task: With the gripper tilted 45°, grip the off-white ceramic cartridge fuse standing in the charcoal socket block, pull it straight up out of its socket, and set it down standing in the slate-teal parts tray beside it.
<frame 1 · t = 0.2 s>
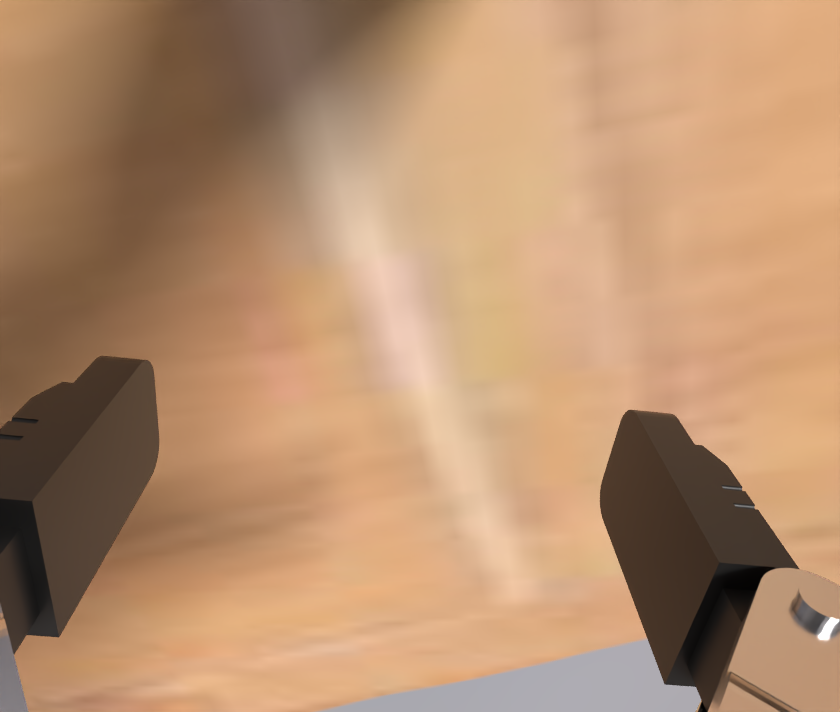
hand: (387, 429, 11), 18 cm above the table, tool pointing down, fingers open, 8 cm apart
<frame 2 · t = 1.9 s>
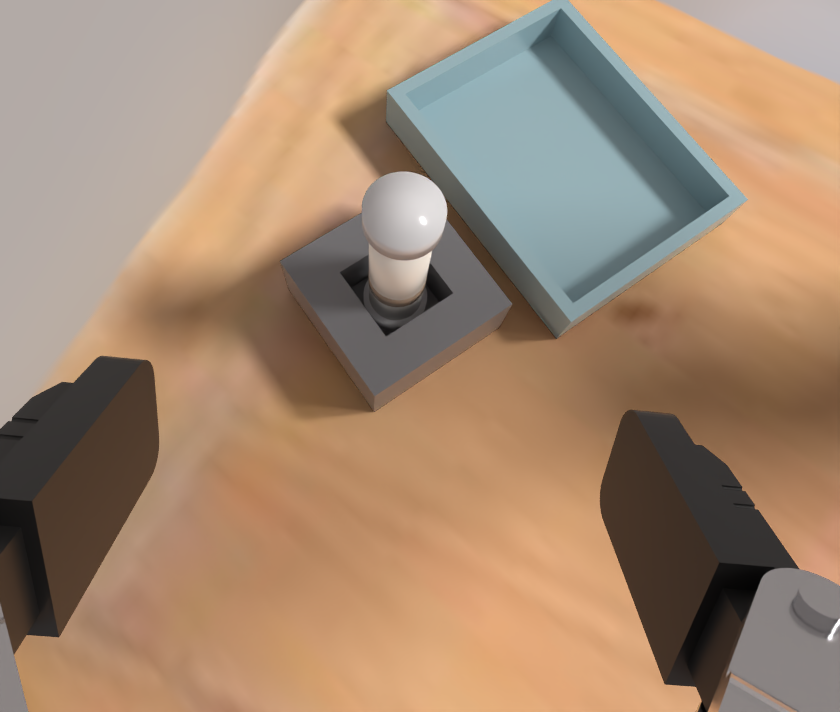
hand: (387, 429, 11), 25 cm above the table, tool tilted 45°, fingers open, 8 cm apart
socket block: (394, 308, 39), on the table
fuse: (394, 302, 38), point 1 cm above the table, touching socket block
parts tray: (553, 172, 42), on the table
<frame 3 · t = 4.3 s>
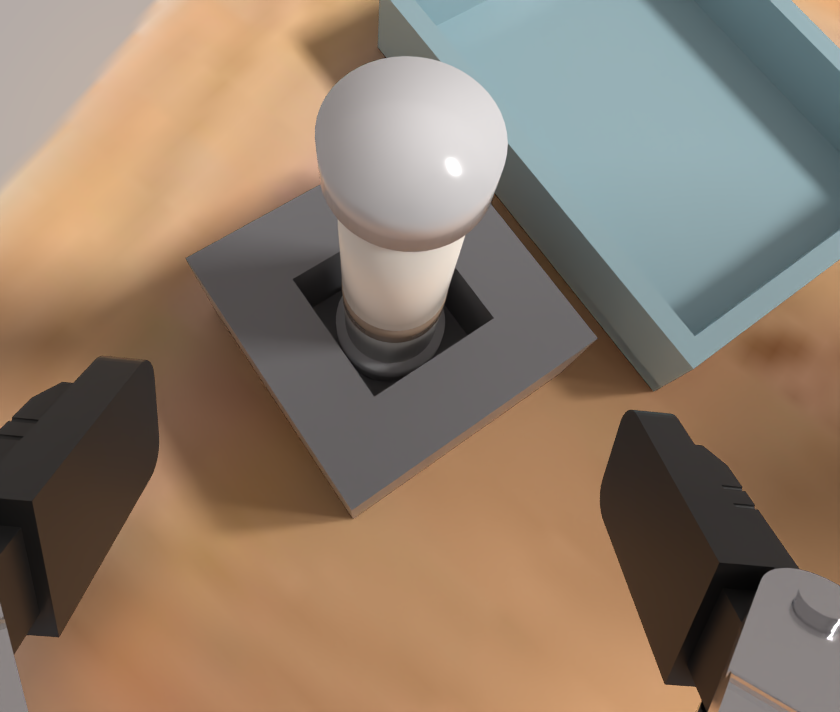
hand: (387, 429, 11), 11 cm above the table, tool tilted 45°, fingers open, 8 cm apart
socket block: (388, 340, 24), on the table
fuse: (389, 331, 23), point 1 cm above the table, touching socket block
parts tray: (636, 128, 27), on the table
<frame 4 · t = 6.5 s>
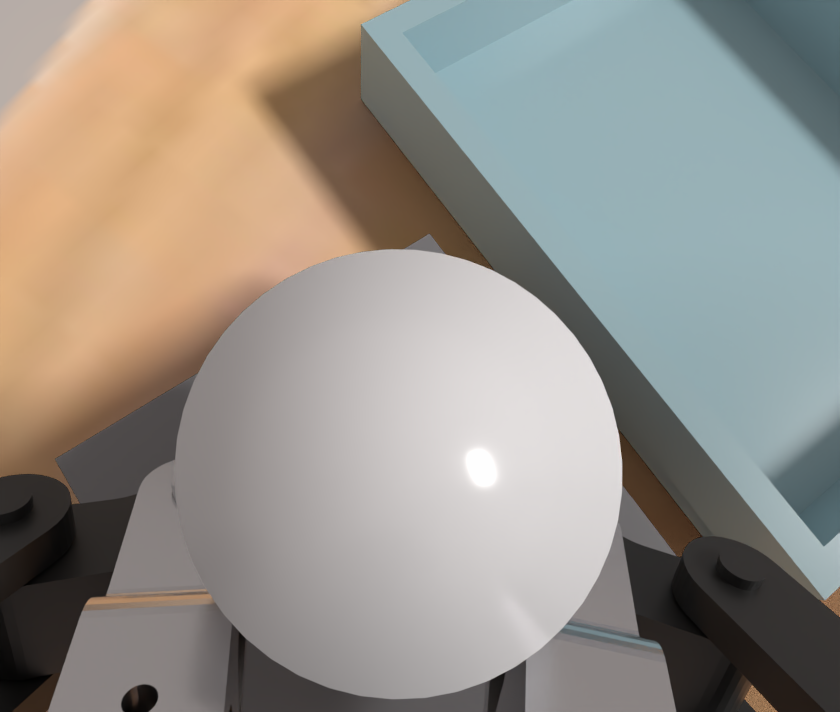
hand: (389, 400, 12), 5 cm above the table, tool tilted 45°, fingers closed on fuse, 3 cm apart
socket block: (373, 526, 17), on the table
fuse: (374, 524, 16), point 1 cm above the table, touching gripper, socket block
parts tray: (707, 207, 20), on the table
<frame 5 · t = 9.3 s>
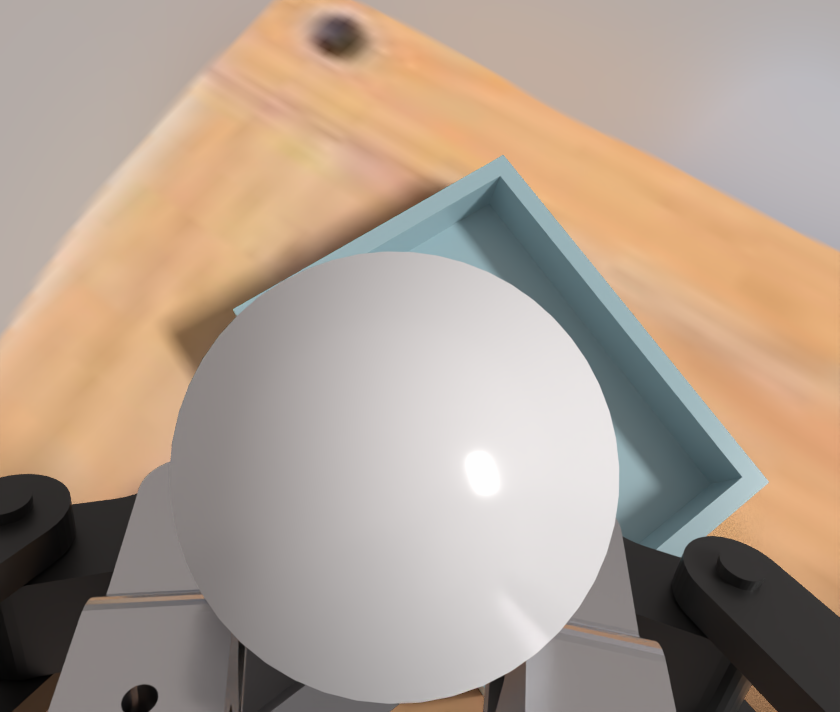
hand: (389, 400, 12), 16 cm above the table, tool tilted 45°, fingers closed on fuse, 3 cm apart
socket block: (232, 652, 25), on the table
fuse: (373, 525, 16), point 12 cm above the table, touching gripper
parts tray: (486, 412, 29), on the table
when the fingers open (7 cm above the table, at t = 12.1 s): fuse drops 1 cm, resting on parts tray.
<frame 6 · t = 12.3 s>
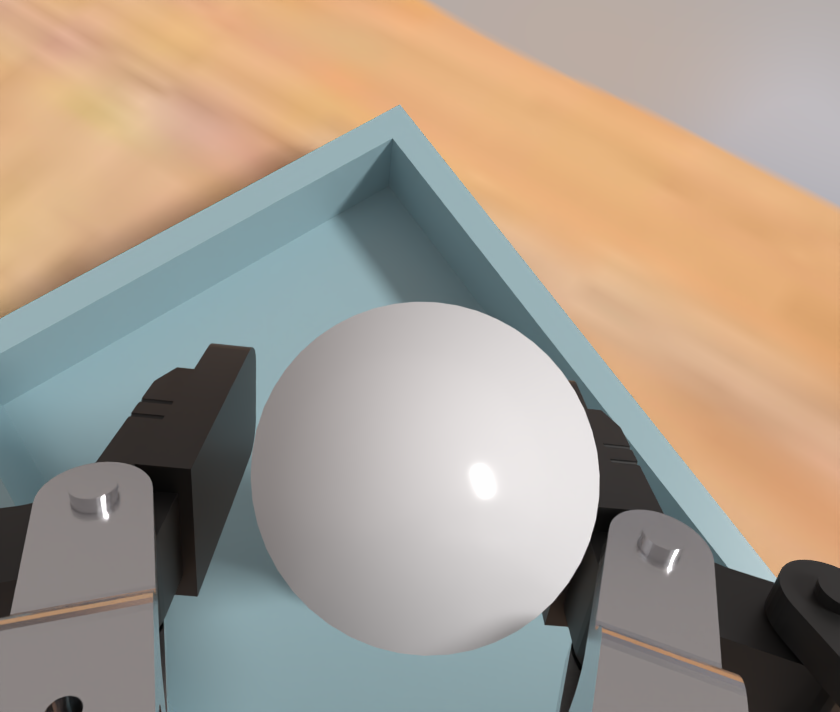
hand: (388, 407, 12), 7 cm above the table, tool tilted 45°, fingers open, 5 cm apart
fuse: (372, 528, 17), point 1 cm above the table, touching parts tray
parts tray: (371, 528, 18), on the table
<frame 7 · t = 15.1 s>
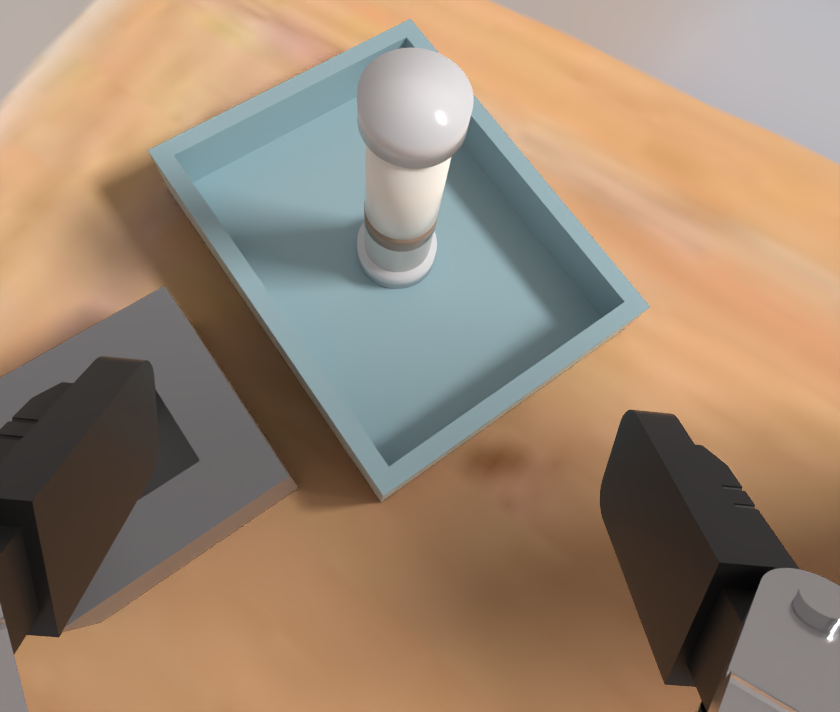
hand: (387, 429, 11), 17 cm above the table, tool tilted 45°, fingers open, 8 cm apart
socket block: (148, 461, 27), on the table
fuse: (395, 253, 30), point 1 cm above the table, touching parts tray
parts tray: (395, 258, 31), on the table
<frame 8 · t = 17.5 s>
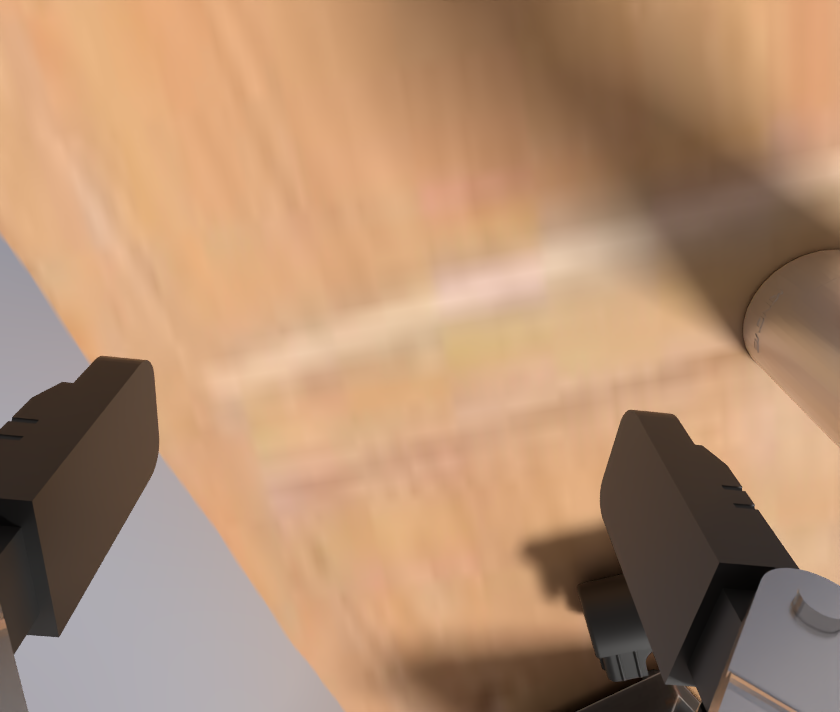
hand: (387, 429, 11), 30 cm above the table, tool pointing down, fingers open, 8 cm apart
end cap: (635, 577, 55), on the table
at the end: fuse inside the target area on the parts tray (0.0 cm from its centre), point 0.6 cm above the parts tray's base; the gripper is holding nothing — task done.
